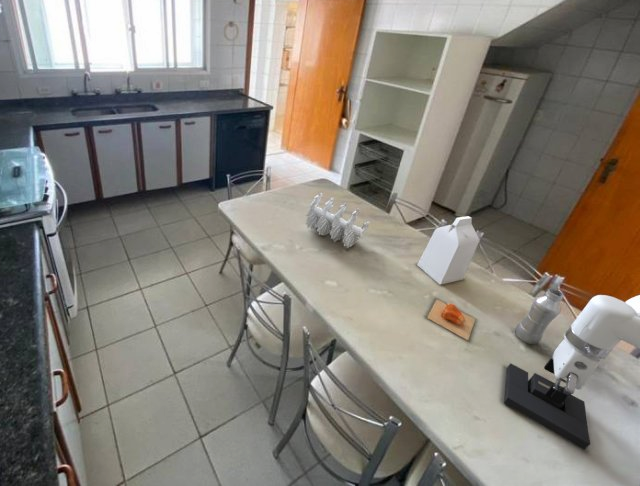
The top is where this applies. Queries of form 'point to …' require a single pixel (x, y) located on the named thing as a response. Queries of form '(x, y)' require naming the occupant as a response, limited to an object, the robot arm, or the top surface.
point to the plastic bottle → (540, 316)
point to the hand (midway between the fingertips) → (551, 385)
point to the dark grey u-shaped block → (547, 409)
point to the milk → (450, 251)
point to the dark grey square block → (541, 389)
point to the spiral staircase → (334, 222)
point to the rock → (451, 319)
